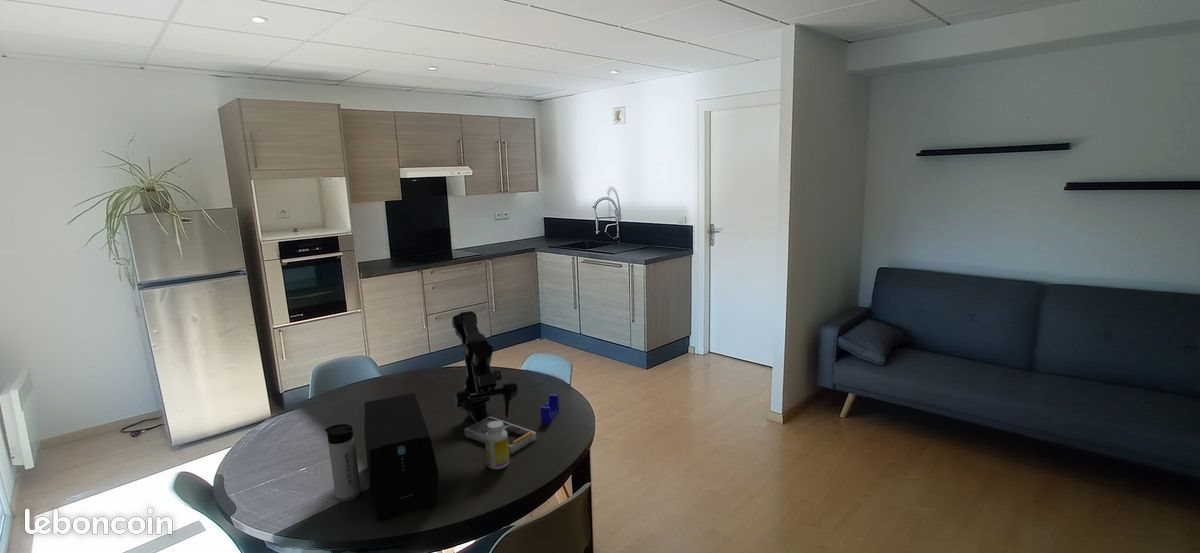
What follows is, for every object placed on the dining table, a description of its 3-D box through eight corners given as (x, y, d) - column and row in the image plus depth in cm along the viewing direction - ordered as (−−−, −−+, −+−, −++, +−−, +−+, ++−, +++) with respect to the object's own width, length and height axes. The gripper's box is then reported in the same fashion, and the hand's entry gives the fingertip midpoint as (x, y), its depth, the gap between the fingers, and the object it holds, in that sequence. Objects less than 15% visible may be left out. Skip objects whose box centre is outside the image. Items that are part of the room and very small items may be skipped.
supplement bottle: (513, 460, 163) (510, 420, 161) (502, 471, 157) (499, 430, 155) (494, 457, 165) (491, 418, 163) (482, 468, 159) (479, 427, 157)
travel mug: (339, 489, 151) (330, 422, 147) (364, 487, 151) (355, 421, 148) (330, 502, 145) (321, 433, 141) (356, 500, 145) (347, 431, 141)
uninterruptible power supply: (374, 524, 135) (365, 450, 131) (368, 462, 165) (360, 401, 161) (441, 505, 142) (434, 435, 138) (423, 449, 172) (417, 390, 168)
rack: (464, 436, 180) (464, 426, 179) (490, 423, 188) (489, 414, 188) (511, 454, 167) (510, 444, 166) (536, 439, 176) (535, 429, 175)
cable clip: (547, 409, 198) (546, 393, 197) (559, 409, 198) (558, 394, 196) (537, 424, 187) (536, 407, 186) (549, 424, 186) (549, 408, 185)
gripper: (453, 367, 162) (461, 415, 154) (514, 357, 169) (525, 403, 161) (452, 383, 171) (460, 430, 163) (510, 373, 178) (520, 417, 170)
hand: (492, 420), depth 164 cm, fingers open, 9 cm apart
